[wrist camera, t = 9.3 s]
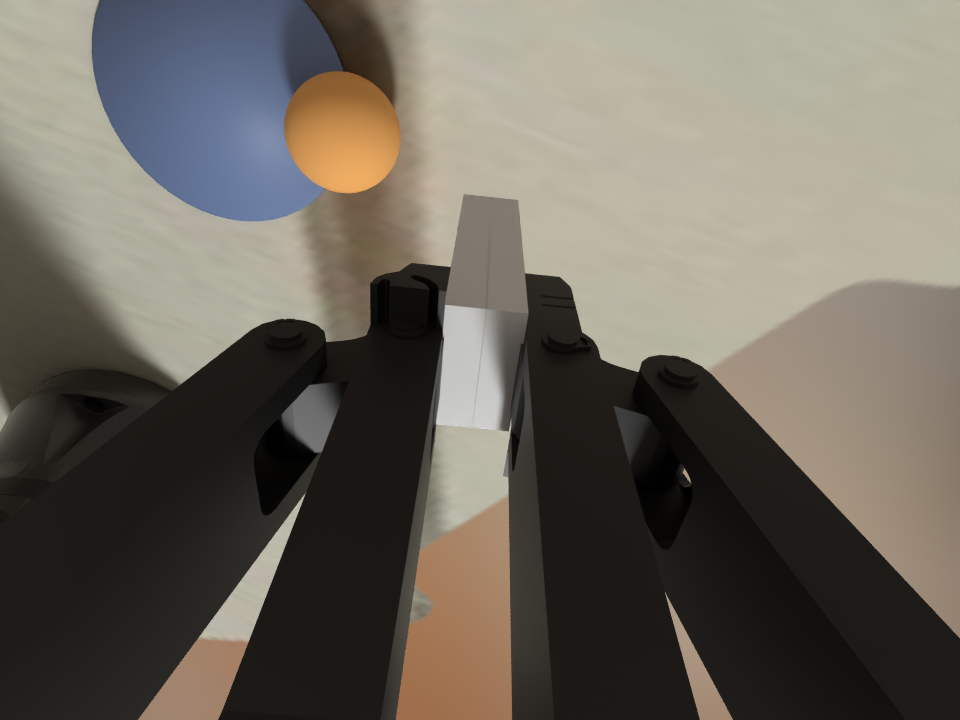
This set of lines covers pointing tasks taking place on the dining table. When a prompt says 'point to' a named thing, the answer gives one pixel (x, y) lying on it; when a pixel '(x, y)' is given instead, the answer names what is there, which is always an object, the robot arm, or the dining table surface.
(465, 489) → the dining table surface
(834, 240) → the dining table surface
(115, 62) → the disc
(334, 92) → the ball
